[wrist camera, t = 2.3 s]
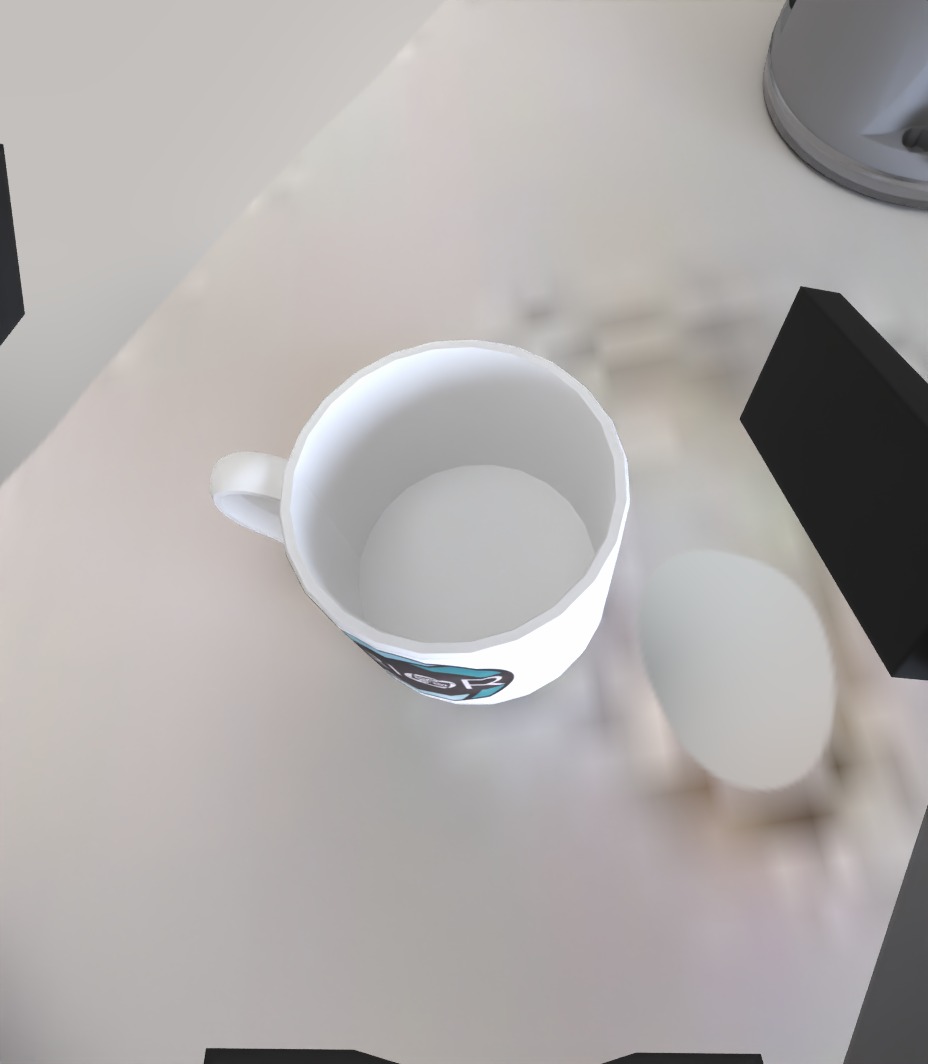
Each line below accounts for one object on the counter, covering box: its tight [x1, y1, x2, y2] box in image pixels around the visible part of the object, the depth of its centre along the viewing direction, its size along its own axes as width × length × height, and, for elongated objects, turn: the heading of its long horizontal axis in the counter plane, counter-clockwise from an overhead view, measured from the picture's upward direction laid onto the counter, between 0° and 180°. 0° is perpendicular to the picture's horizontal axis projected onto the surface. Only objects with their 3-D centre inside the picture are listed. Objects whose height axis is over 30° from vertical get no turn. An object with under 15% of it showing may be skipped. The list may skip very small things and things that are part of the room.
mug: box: [210, 339, 630, 704], centre depth 29 cm, size 13×10×8 cm
